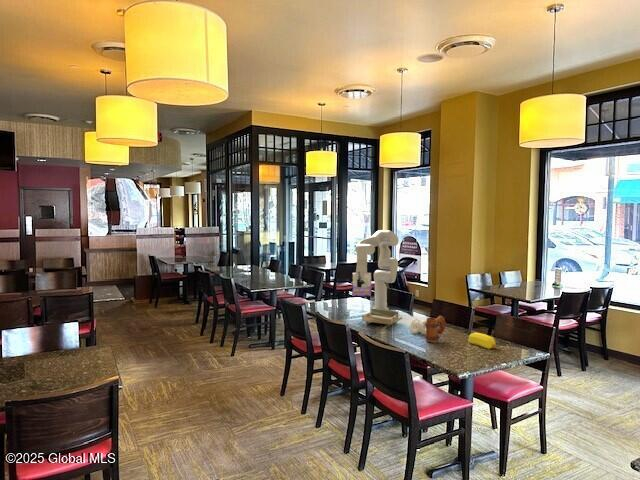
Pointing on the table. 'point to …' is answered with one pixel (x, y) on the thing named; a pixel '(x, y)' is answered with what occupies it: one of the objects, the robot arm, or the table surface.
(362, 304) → the table surface
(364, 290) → the candy box
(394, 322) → the track
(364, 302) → the table surface
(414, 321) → the cream twisted loop
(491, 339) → the yellow rounded bar
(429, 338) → the mug
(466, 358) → the table surface
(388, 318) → the tray
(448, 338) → the table surface
